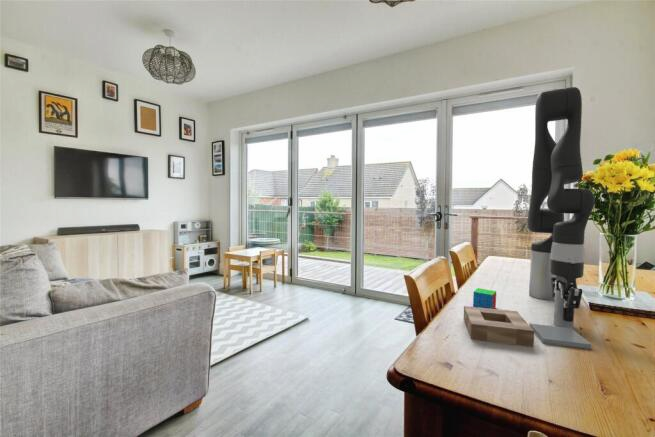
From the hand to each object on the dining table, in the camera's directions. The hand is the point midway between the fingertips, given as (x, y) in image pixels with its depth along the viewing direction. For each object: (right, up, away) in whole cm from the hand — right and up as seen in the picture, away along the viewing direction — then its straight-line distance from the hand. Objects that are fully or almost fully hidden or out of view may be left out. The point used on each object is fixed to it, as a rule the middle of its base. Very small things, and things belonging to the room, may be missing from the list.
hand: (563, 317), depth 88 cm
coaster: (-8, -3, -8) cm, 11 cm away
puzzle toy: (-16, -2, +14) cm, 21 cm away
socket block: (-22, -2, -5) cm, 23 cm away
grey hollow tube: (0, -3, 0) cm, 3 cm away
